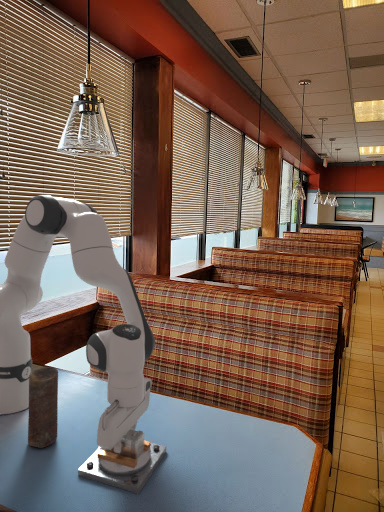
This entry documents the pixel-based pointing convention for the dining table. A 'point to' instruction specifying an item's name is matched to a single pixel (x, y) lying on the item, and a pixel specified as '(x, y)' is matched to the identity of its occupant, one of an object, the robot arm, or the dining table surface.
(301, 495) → the dining table surface
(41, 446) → the candle
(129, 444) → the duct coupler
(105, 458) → the turntable fixture plate
